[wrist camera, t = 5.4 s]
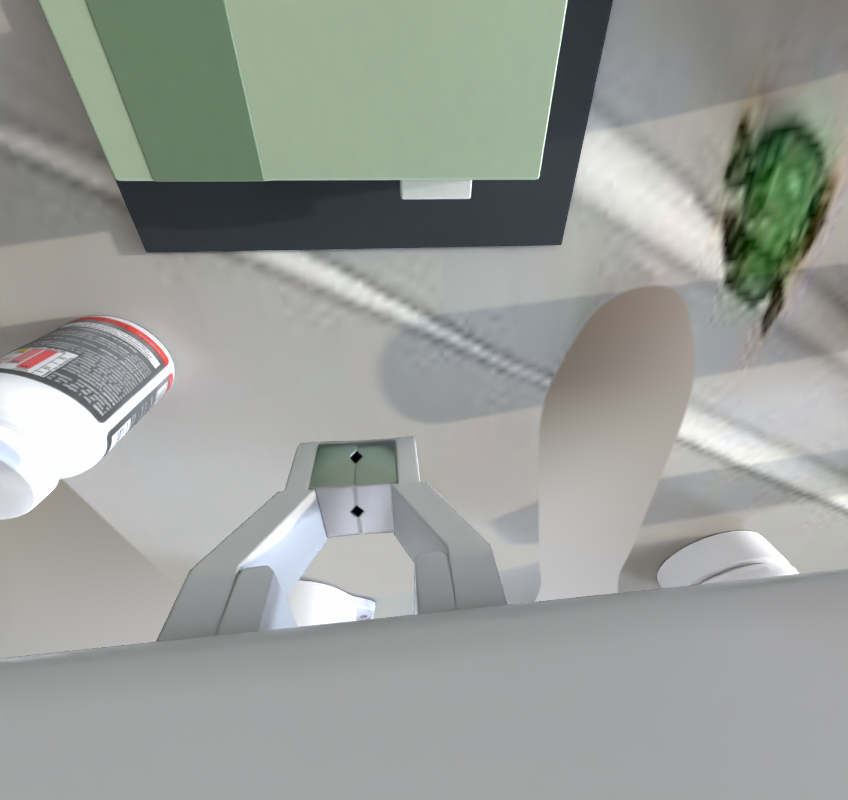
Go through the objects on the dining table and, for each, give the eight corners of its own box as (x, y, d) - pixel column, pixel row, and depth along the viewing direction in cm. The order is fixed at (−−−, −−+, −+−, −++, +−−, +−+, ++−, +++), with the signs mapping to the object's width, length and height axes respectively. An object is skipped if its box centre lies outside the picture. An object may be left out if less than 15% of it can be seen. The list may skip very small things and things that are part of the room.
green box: (477, 194, 17) (535, 210, 11) (232, 196, 16) (128, 214, 10) (491, 11, 14) (591, -137, 7) (179, 0, 13) (-45, -184, 6)
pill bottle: (48, 309, 19) (-212, 418, 11) (159, 314, 19) (-5, 419, 11) (96, 396, 22) (-76, 530, 14) (190, 397, 23) (79, 526, 14)
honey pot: (750, 574, 45) (928, 771, 30) (652, 597, 46) (777, 797, 32) (777, 518, 38) (1027, 741, 23) (661, 548, 39) (828, 777, 24)
